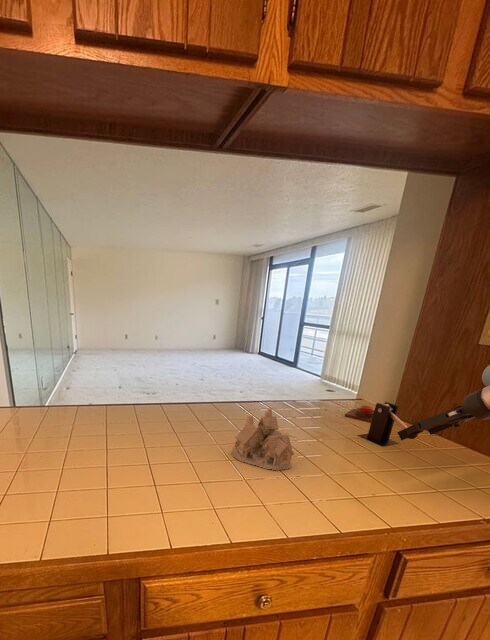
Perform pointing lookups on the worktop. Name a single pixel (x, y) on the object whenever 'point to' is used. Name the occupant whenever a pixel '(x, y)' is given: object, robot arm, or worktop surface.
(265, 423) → the ceramic cottage
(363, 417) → the button block
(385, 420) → the bracket
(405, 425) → the switch lever
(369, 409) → the red button
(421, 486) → the worktop surface
